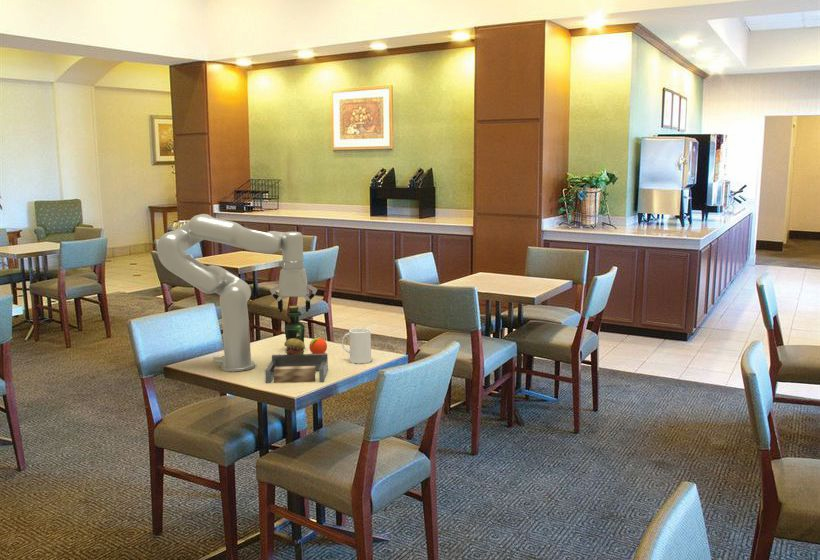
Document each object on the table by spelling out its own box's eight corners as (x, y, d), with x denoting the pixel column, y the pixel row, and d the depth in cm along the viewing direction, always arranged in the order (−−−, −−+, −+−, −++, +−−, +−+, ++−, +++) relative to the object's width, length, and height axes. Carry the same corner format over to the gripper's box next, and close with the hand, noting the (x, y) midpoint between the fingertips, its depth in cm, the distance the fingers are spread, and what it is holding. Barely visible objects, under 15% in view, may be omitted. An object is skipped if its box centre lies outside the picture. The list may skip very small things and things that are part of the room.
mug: (338, 361, 265) (337, 331, 263) (348, 356, 273) (347, 326, 271) (365, 364, 260) (364, 333, 258) (375, 359, 268) (374, 328, 266)
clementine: (318, 358, 270) (317, 340, 269) (304, 356, 273) (303, 339, 272) (330, 353, 277) (330, 336, 276) (316, 351, 280) (316, 334, 279)
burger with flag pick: (281, 366, 259) (279, 335, 257) (292, 362, 266) (290, 331, 264) (299, 368, 256) (297, 337, 254) (309, 363, 263) (308, 332, 261)
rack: (265, 383, 240) (265, 366, 239) (273, 370, 254) (272, 354, 254) (323, 381, 240) (323, 364, 239) (328, 369, 255) (327, 353, 254)
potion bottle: (286, 347, 287) (284, 305, 284) (306, 347, 288) (304, 304, 285) (284, 352, 279) (282, 309, 276) (305, 352, 280) (303, 308, 277)
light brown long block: (273, 383, 240) (273, 369, 239) (275, 380, 243) (274, 366, 242) (315, 382, 241) (314, 368, 240) (316, 379, 243) (315, 365, 243)
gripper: (267, 267, 251) (269, 313, 254) (315, 266, 252) (316, 313, 254) (271, 264, 259) (272, 309, 261) (317, 264, 259) (318, 309, 262)
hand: (294, 311), depth 258 cm, fingers open, 9 cm apart
